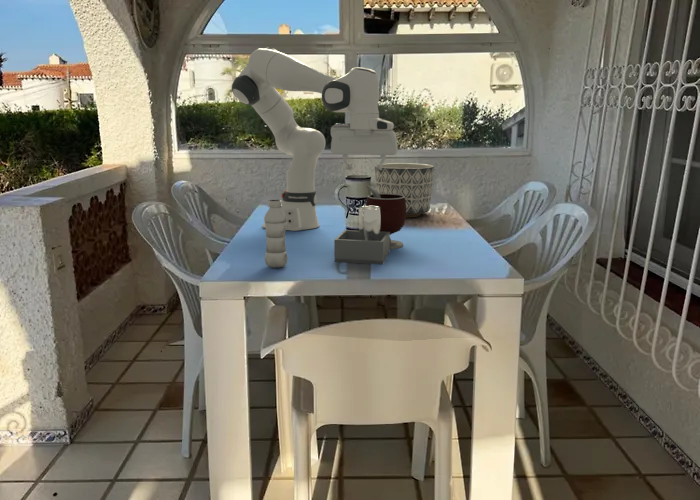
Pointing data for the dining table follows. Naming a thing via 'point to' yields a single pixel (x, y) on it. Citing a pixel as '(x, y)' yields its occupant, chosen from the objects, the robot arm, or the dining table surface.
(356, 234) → the bin
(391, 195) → the mate gourd
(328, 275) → the dining table surface
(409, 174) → the planter
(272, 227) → the plastic bottle
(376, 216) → the beer glass
